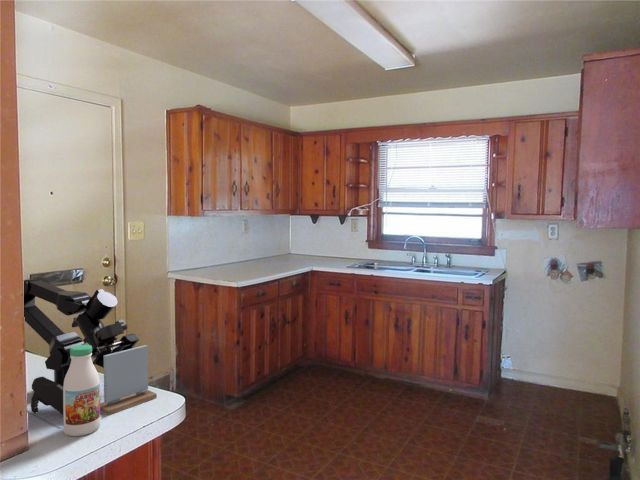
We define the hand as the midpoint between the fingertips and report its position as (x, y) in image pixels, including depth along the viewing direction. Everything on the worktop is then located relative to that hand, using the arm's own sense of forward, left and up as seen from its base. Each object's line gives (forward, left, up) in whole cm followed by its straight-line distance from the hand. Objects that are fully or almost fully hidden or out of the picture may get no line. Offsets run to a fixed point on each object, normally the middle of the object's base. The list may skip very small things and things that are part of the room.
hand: (120, 374), depth 123 cm
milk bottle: (+9, -14, -7) cm, 18 cm away
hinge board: (+3, 0, -7) cm, 8 cm away
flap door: (+4, 0, -5) cm, 7 cm away
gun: (-4, -14, -7) cm, 17 cm away
